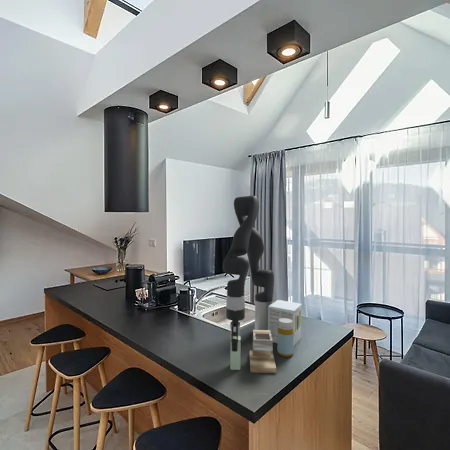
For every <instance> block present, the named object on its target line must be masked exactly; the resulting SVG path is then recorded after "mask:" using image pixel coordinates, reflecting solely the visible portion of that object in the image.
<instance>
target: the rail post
mask: <svg viewBox="0 0 450 450" xmlns="http://www.w3.org/2000/svg"><path fill="white" fill-rule="evenodd" d="M233 339H237V337H236V336H233ZM241 340H242V338H241V335H239V336H238V347H237V352H233V351H232V342H231V339H230V347H229V349H230V351H229V352H230V355H229V357H230V358H229V359H230V360H229V361H230V365H229V367H230V368H229V370H233V371H235V370H237V371H240V370H241V347H242V346H241Z"/></svg>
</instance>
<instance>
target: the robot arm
mask: <svg viewBox="0 0 450 450" xmlns="http://www.w3.org/2000/svg"><path fill="white" fill-rule="evenodd" d="M233 209H234V212H235V217H236V219H237V222H238V224H239V227H238V228H237V229H236V230H235V232H234V235H233V238H232V241H231V247H230V249H229V250H228V253H227V254H226V256H225V258H224V260H223V263H222V270H223V272H224V273H225V274H227V275H233V276H234V275H238V276H239V277H238V278H236V279H230V280H228V282H227V283H226V300H225V301H226V302H225V303H226V304H225V318H226V319H227V320H228V321H230V324H229V325H230V326H229V328H230V340H231V342H232V351H233V352H237V347H238V336H240V329H241V321H243V320H244V319H245V317H246V315H245V313H246V311H245V310H246V306H245V305H246V299H245V287H246V285H245V284H246V280H247V277H248V276H247V275H248V273H249V269H250V275H251V281H252V284H253V286H255V287H259V288H264V291H260V292H257V293H256V294H255V296H254V330H268V306H270V305H271V304H273V303H274V301H273V300H274V299H273V297H274V285H275V274H274V272H273V270H271V269H270V270H269V269H263V268H260V265H259V264H260V263H259V262H260V260H261V258H262V256H263V254H264V252H265V245H264V239H263V237H262V234H260V232H259V231H258V230H257V229H256V228H255V227H254V225H255V223H256V220H257V217H258V215H259V212H260V201H259V198H258V197H257V196H256V195H246V196H237V197H235V198H234V200H233ZM246 254H247V257H243V256H246ZM233 336H236V337H237V339H233Z"/></svg>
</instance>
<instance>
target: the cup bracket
mask: <svg viewBox="0 0 450 450" xmlns="http://www.w3.org/2000/svg"><path fill="white" fill-rule="evenodd" d="M273 344H274V342H273V340H272V336H271V332H270V330H255V329H252V350H249V366H250V367H249V369H250V371H249V372H250V373H258V374H259V373H262V374H277V366H276V360H275V355H274V353H273V352H274V350H273V347H274V345H273Z"/></svg>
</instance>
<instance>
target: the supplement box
mask: <svg viewBox="0 0 450 450" xmlns="http://www.w3.org/2000/svg"><path fill="white" fill-rule="evenodd" d="M302 306H303V305H302V303H299V302H294V301H287V300H281V299H277V300H276V301H273V304H271V305H270V306H268V330H270V332H271V336H272V340H273V344H274V343H275V344H278V328H279V319H280V318H289V319H291V320H293V331H294V347H295V346H296V345H297V343H298V342H299V341H300V340H301V339H302V317H303V316H302V314H303V313H302V309H303V307H302Z"/></svg>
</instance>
